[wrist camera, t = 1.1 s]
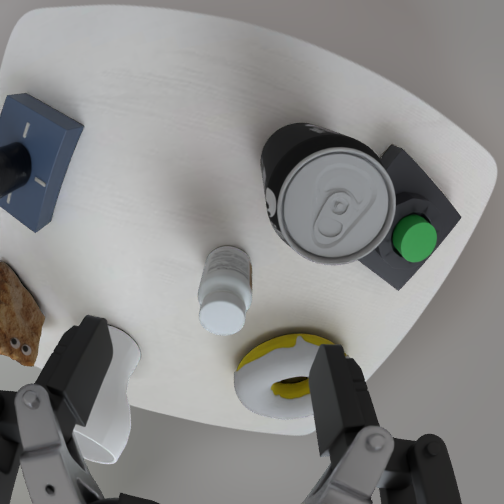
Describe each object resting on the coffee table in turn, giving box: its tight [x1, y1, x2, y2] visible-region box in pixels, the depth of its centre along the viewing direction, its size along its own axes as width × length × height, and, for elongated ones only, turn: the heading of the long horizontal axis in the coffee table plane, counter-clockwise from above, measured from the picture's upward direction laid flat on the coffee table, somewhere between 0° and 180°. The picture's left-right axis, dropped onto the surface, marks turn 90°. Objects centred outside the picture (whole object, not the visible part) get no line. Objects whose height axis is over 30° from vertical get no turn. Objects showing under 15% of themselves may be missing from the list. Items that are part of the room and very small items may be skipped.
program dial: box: [0, 142, 32, 199], centre depth 18 cm, size 4×4×5 cm
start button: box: [393, 214, 437, 262], centre depth 22 cm, size 4×4×2 cm
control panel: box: [0, 93, 84, 233], centre depth 21 cm, size 11×9×3 cm
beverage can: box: [261, 123, 396, 265], centre depth 18 cm, size 7×7×12 cm
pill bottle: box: [198, 246, 252, 335], centre depth 25 cm, size 4×4×8 cm
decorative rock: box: [0, 262, 45, 366], centre depth 26 cm, size 12×6×11 cm, turn 34°
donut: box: [234, 334, 350, 419], centre depth 33 cm, size 14×14×5 cm
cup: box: [73, 326, 141, 464], centre depth 27 cm, size 11×11×15 cm
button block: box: [358, 145, 461, 291], centre depth 24 cm, size 10×10×4 cm
